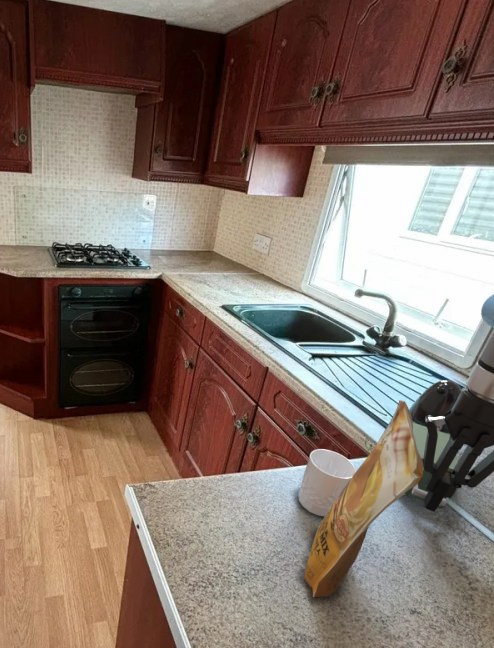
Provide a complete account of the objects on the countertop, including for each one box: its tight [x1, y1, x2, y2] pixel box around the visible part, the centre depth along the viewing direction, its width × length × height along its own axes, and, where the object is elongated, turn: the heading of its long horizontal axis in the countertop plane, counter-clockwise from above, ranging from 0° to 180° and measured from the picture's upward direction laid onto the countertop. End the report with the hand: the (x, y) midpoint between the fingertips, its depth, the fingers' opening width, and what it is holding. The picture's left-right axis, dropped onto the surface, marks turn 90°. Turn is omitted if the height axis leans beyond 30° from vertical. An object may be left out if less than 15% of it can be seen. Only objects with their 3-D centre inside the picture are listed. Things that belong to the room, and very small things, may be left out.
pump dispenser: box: [409, 379, 462, 435], centre depth 101 cm, size 10×10×15 cm
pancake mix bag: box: [303, 399, 423, 598], centre depth 60 cm, size 7×19×28 cm, turn 145°
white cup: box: [297, 448, 358, 517], centre depth 76 cm, size 8×8×10 cm
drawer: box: [404, 467, 450, 509], centre depth 82 cm, size 18×7×7 cm, turn 148°
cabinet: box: [413, 423, 459, 477], centre depth 86 cm, size 15×9×9 cm, turn 148°
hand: (429, 505), depth 73 cm, fingers closed
